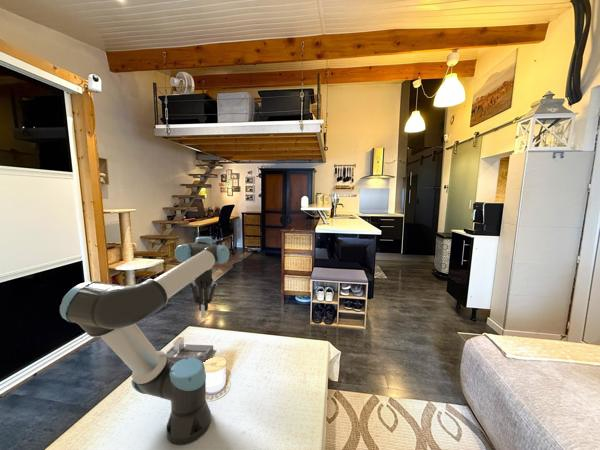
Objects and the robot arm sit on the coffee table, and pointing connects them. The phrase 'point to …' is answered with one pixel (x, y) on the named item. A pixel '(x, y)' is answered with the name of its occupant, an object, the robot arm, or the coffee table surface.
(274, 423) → the coffee table surface
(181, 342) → the fader
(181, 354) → the console
